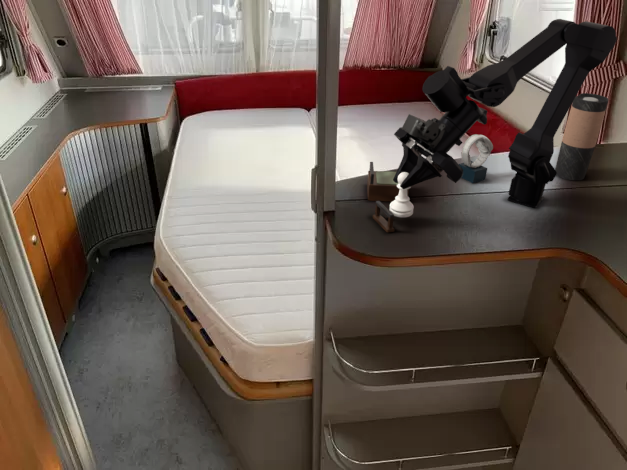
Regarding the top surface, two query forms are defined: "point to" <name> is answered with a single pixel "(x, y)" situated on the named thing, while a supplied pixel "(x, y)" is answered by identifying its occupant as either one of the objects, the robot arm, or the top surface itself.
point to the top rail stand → (381, 185)
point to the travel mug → (580, 135)
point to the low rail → (380, 220)
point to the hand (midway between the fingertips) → (397, 184)
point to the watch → (474, 169)
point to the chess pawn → (402, 200)
